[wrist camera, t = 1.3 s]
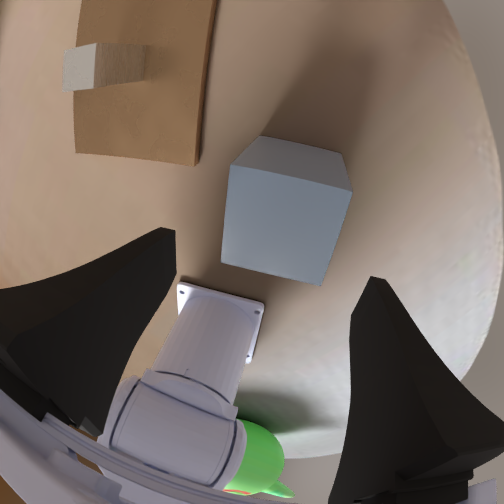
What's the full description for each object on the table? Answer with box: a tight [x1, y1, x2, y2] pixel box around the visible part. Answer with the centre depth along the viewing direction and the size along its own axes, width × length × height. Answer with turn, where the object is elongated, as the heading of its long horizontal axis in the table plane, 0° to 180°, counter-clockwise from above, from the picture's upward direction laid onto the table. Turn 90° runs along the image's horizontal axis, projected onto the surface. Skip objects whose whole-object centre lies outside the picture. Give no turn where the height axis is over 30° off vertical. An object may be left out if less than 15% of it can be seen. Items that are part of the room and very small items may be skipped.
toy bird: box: [223, 419, 295, 498], centre depth 37 cm, size 18×17×15 cm
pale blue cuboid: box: [221, 135, 353, 286], centre depth 16 cm, size 5×5×7 cm
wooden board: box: [63, 0, 217, 166], centre depth 13 cm, size 14×11×6 cm
